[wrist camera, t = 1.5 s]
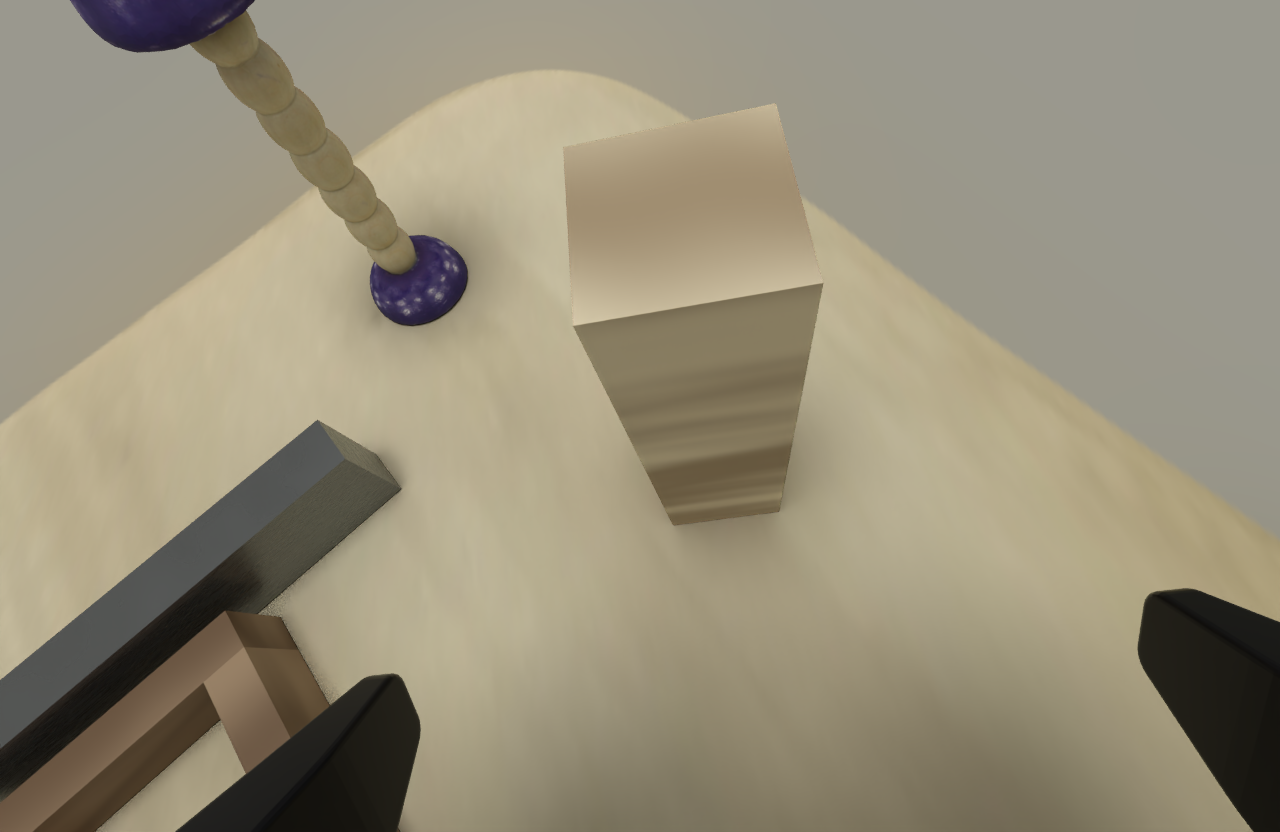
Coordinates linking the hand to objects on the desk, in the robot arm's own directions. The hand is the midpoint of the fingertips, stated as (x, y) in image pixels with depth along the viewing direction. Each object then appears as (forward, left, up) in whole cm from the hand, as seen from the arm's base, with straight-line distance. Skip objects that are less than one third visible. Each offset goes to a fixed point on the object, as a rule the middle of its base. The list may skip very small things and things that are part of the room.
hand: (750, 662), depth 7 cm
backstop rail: (+11, +19, -12) cm, 25 cm away
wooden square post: (+6, -3, -12) cm, 14 cm away
